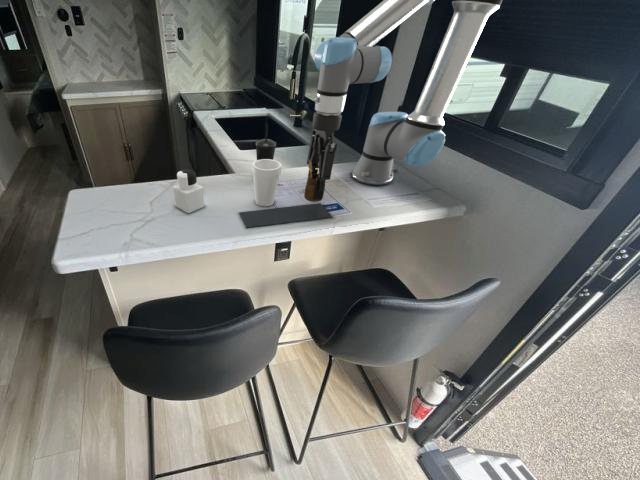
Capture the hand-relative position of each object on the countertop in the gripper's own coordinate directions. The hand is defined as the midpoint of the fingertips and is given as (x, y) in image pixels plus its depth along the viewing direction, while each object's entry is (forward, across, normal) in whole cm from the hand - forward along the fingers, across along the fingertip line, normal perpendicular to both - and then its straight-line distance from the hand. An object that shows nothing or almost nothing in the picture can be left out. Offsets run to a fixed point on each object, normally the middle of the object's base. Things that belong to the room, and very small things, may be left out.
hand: (313, 194), depth 102 cm
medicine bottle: (+7, -12, -39) cm, 41 cm away
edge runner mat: (+7, -1, -8) cm, 11 cm away
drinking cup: (+7, -29, -9) cm, 31 cm away
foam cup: (+7, -11, -13) cm, 18 cm away
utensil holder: (+2, 0, 0) cm, 2 cm away
